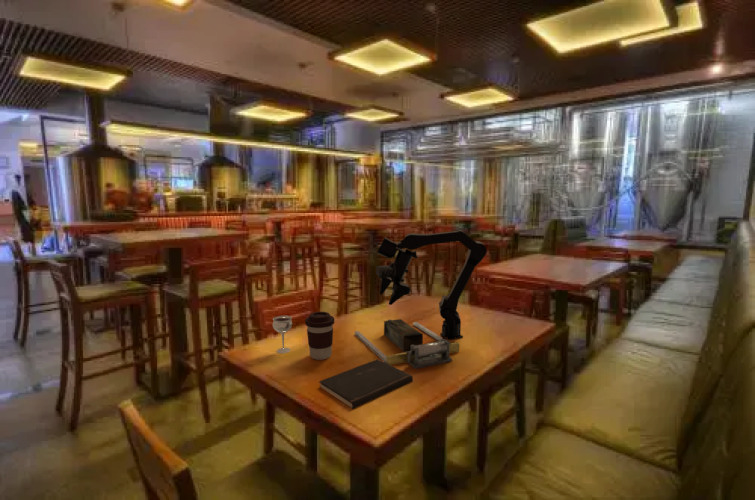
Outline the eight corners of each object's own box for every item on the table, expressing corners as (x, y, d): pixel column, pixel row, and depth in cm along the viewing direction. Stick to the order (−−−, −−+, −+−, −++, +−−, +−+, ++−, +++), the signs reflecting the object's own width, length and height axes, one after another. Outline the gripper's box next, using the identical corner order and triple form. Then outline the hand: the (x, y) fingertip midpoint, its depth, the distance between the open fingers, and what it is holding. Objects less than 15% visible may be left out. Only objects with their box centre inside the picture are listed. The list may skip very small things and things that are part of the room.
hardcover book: (319, 388, 116) (318, 381, 116) (377, 365, 131) (377, 358, 131) (352, 411, 104) (352, 403, 104) (412, 382, 119) (412, 375, 119)
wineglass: (269, 352, 140) (268, 320, 138) (280, 345, 146) (279, 314, 144) (286, 355, 138) (285, 322, 136) (296, 348, 144) (295, 316, 142)
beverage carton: (401, 332, 160) (401, 316, 159) (423, 350, 142) (424, 332, 141) (383, 335, 157) (383, 319, 156) (403, 353, 140) (403, 335, 139)
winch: (443, 355, 137) (443, 337, 136) (451, 361, 133) (452, 342, 132) (403, 363, 131) (403, 345, 130) (410, 369, 126) (411, 350, 125)
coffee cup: (339, 352, 140) (339, 311, 138) (327, 363, 131) (326, 320, 129) (314, 348, 143) (313, 308, 141) (301, 359, 134) (299, 317, 132)
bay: (416, 324, 169) (416, 317, 168) (459, 351, 140) (459, 343, 140) (354, 334, 158) (354, 327, 157) (387, 365, 129) (387, 357, 129)
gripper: (374, 250, 157) (359, 284, 160) (394, 267, 141) (376, 306, 144) (397, 257, 162) (382, 290, 165) (418, 275, 146) (401, 311, 149)
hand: (385, 299), depth 156 cm, fingers open, 9 cm apart
